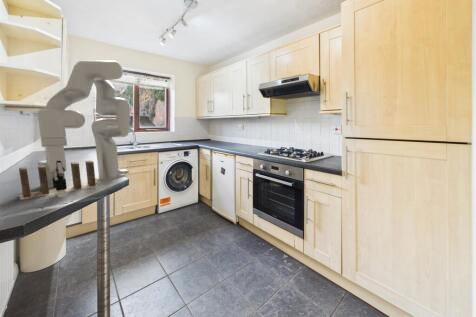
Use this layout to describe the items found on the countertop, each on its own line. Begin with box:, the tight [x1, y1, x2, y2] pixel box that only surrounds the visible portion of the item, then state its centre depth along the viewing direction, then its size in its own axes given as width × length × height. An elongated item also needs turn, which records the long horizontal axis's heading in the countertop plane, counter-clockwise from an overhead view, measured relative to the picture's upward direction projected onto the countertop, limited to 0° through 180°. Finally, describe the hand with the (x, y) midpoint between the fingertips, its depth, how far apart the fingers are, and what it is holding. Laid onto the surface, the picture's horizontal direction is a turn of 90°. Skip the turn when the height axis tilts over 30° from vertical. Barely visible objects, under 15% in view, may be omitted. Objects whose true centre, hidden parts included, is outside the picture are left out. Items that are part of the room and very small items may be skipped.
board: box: [18, 183, 100, 201], centre depth 95 cm, size 26×9×1 cm, turn 136°
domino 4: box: [84, 160, 97, 186], centre depth 102 cm, size 2×5×11 cm, turn 46°
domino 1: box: [37, 165, 50, 195], centre depth 91 cm, size 2×5×11 cm, turn 46°
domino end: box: [18, 166, 31, 198], centre depth 87 cm, size 2×5×11 cm, turn 46°
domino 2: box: [54, 171, 66, 198], centre depth 88 cm, size 2×5×11 cm, turn 46°
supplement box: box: [37, 159, 55, 189], centre depth 102 cm, size 7×7×13 cm
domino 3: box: [70, 162, 82, 189], centre depth 98 cm, size 2×5×11 cm, turn 46°
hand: (60, 187), depth 88 cm, fingers closed on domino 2, 5 cm apart
